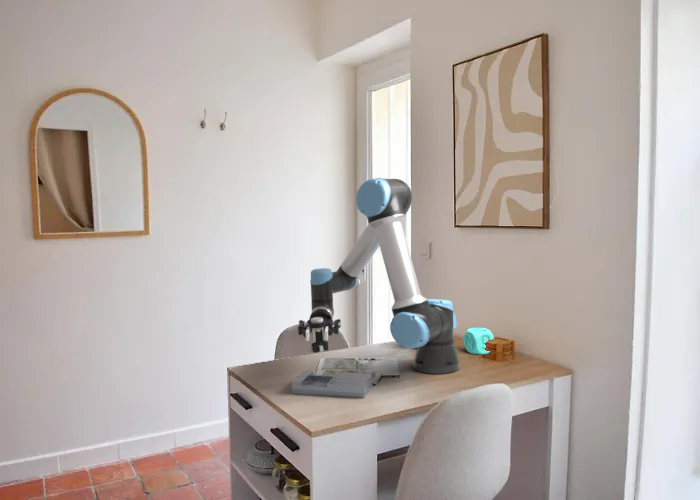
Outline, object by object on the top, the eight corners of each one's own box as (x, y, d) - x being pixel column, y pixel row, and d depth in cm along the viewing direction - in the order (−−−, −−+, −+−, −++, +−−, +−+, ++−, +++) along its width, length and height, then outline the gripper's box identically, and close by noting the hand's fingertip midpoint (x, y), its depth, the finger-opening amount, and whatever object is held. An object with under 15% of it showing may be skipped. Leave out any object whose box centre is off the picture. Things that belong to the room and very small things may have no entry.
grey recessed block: (372, 385, 170) (372, 373, 170) (364, 398, 159) (363, 385, 159) (304, 382, 176) (304, 370, 176) (292, 393, 165) (291, 381, 165)
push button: (311, 355, 164) (307, 322, 163) (304, 351, 169) (301, 319, 168) (331, 350, 167) (328, 318, 166) (324, 347, 172) (321, 315, 171)
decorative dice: (481, 347, 209) (480, 326, 208) (494, 352, 202) (494, 330, 201) (463, 350, 206) (463, 329, 205) (476, 355, 199) (476, 333, 198)
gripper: (348, 329, 186) (347, 347, 162) (294, 331, 186) (286, 349, 162) (347, 307, 185) (346, 322, 162) (293, 309, 185) (285, 324, 162)
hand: (316, 336), depth 162 cm, fingers closed on push button, 5 cm apart
